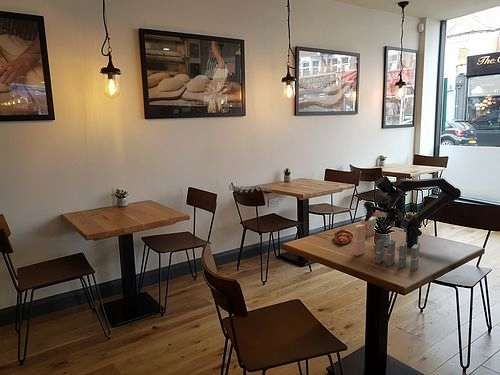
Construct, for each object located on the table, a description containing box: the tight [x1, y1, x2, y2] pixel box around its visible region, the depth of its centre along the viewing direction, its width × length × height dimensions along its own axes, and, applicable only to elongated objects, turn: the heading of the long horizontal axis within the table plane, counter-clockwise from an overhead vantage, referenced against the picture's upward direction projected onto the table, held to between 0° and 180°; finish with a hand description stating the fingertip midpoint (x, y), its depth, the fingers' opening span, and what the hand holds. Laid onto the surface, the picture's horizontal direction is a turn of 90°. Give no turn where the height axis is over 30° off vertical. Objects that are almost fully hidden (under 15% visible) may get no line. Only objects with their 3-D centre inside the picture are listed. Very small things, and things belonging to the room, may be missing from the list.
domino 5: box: [409, 244, 420, 272], centre depth 164 cm, size 5×2×10 cm, turn 143°
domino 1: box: [353, 224, 366, 256], centre depth 182 cm, size 5×2×14 cm, turn 123°
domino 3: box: [386, 240, 396, 267], centre depth 170 cm, size 5×2×10 cm, turn 143°
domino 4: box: [397, 241, 408, 269], centre depth 167 cm, size 5×2×10 cm, turn 143°
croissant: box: [333, 227, 354, 245], centre depth 205 cm, size 21×10×8 cm, turn 163°
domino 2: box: [374, 237, 385, 264], centre depth 173 cm, size 5×2×10 cm, turn 143°
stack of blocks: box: [360, 205, 387, 237], centre depth 219 cm, size 21×6×12 cm, turn 141°
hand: (373, 223), depth 183 cm, fingers open, 9 cm apart
